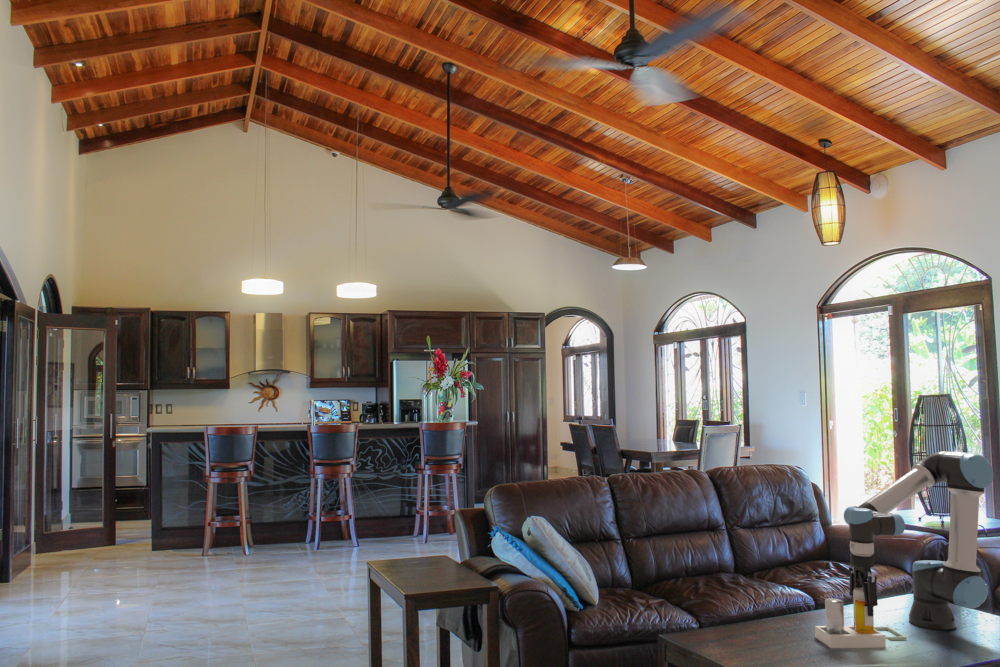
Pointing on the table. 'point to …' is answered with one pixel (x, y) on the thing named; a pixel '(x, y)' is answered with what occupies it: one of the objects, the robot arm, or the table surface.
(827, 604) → the shiny metal cylinder
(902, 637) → the empty picture frame
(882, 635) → the dock
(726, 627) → the table surface
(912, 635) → the table surface
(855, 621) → the beer can
